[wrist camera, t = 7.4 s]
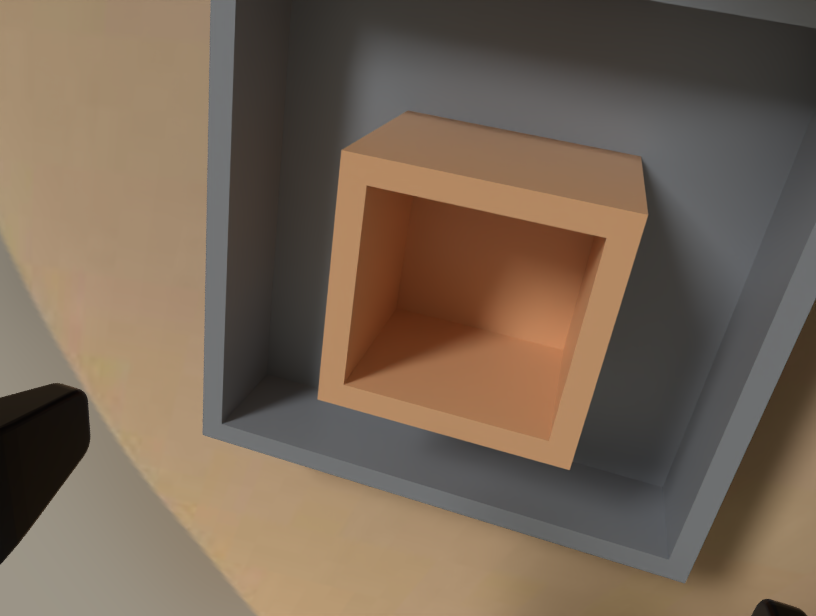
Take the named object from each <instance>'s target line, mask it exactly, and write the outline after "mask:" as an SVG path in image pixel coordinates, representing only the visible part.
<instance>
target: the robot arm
mask: <svg viewBox="0 0 816 616" xmlns="http://www.w3.org/2000/svg"><path fill="white" fill-rule="evenodd" d="M89 443H90V425H89V410H88V399H87V396H86V394H85V393H84V392H83V391H82V390H80V389H77V388H74V387H71V386H67V385H64V384H60V383H53V384H49V385H46V386H42V387H38V388H34V389H31V390H27V391H23V392H20V393H16V394H12V395H8V396H5V397H1V398H0V564H1V563H2V562H3V561H4V560H5V559H6V558H7V556H8V555H9V554H10V553H11V552H12V551H13V550H14V548H15V547H16V546H17V545H18V544H19V542H20V541H21V540H22V539H23V537H24V536H25V535H26V533H27V532H28V531H29V530H30V528H31V527H32V526H33V524H34V523H35V522H36V520H37V519H38V518H39V516H40V515H41V513H42V512H43V511H44V509H45V508H46V507H47V505H48V504H49V503H50V501H51V500H52V498H53V497H54V496H55V495H56V493H57V492H58V490H59V489H60V488H61V486H62V485H63V484H64V482H65V481H66V480H67V478H68V477H69V475H70V474H71V473H72V471H73V470H74V469H75V467H76V466H77V465H78V463H79V462H80V461H81V459H82V458H83V456H84V455H85V453H86V451H87V449H88V447H89ZM752 616H807V615H806V614H805V613H804V612H803V611H802V610H801V609H799V608H797V607H794V606H791V605H788V604H784V603H781V602H778V601H774V600H771V599H764V600H762V601H761V602H760V603H759V604H758V605H757V606H756V608H755V610H754V612H753V614H752Z"/></svg>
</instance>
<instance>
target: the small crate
mask: <svg viewBox="0 0 816 616" xmlns="http://www.w3.org/2000/svg"><path fill="white" fill-rule="evenodd" d="M647 217H648V209H647V201H646V193H645V185H644V176H643V168H642V160H641V156H636V155H631V154H626V153H621V152H616V151H611V150H606V149H601V148H596V147H591V146H586V145H581V144H575V143H570V142H565V141H560V140H555V139H550V138H545V137H540V136H535V135H530V134H525V133H520V132H515V131H510V130H505V129H499V128H494V127H489V126H484V125H479V124H474V123H469V122H464V121H459V120H454V119H449V118H444V117H439V116H434V115H429V114H423V113H418V112H413V111H406V112H404V113H403V114H401V115H399V116H398V117H396V118H394V119H393V120H391V121H389V122H388V123H386V124H384V125H383V126H381V127H379V128H378V129H376V130H374V131H373V132H371V133H369V134H368V135H366V136H364V137H362V138H361V139H359V140H357V141H356V142H354V143H352V144H351V145H349V146H347V147H346V148H344V149H342V150H341V159H340V170H339V180H338V191H337V201H336V211H335V222H334V232H333V243H332V253H331V263H330V274H329V284H328V295H327V305H326V315H325V326H324V336H323V346H322V357H321V367H320V378H319V388H318V398H317V399H318V400H321V401H325V402H328V403H332V404H336V405H339V406H343V407H346V408H350V409H353V410H357V411H360V412H364V413H368V414H371V415H375V416H378V417H382V418H385V419H389V420H393V421H396V422H400V423H403V424H407V425H410V426H414V427H418V428H421V429H425V430H428V431H432V432H435V433H439V434H442V435H446V436H450V437H453V438H457V439H460V440H464V441H467V442H471V443H475V444H478V445H482V446H485V447H489V448H492V449H496V450H499V451H503V452H507V453H510V454H514V455H517V456H521V457H524V458H528V459H532V460H535V461H539V462H542V463H546V464H549V465H553V466H557V467H560V468H564V469H567V470H570V468H571V464H572V461H573V458H574V455H575V451H576V448H577V445H578V442H579V438H580V435H581V432H582V429H583V425H584V422H585V419H586V416H587V412H588V409H589V406H590V403H591V399H592V396H593V393H594V390H595V386H596V383H597V380H598V377H599V373H600V370H601V367H602V364H603V360H604V357H605V354H606V351H607V347H608V344H609V341H610V338H611V334H612V331H613V328H614V325H615V321H616V318H617V315H618V312H619V308H620V305H621V302H622V299H623V295H624V292H625V289H626V286H627V282H628V279H629V276H630V273H631V269H632V266H633V263H634V260H635V256H636V253H637V250H638V247H639V243H640V240H641V237H642V234H643V230H644V227H645V224H646V221H647Z"/></svg>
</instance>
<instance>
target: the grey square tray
mask: <svg viewBox="0 0 816 616" xmlns="http://www.w3.org/2000/svg"><path fill="white" fill-rule="evenodd" d="M406 111H413V112H418V113H423V114H429V115H434V116H439V117H444V118H449V119H454V120H459V121H464V122H469V123H474V124H479V125H484V126H489V127H494V128H499V129H505V130H510V131H515V132H520V133H525V134H530V135H535V136H540V137H545V138H550V139H555V140H560V141H565V142H570V143H575V144H581V145H586V146H591V147H596V148H601V149H606V150H611V151H616V152H621V153H626V154H631V155H636V156H641V160H642V168H643V176H644V185H645V193H646V201H647V209H648V217H647V221H646V224H645V227H644V230H643V234H642V237H641V240H640V243H639V247H638V250H637V253H636V256H635V260H634V263H633V266H632V269H631V273H630V276H629V279H628V282H627V286H626V289H625V292H624V295H623V299H622V302H621V305H620V308H619V312H618V315H617V318H616V321H615V325H614V328H613V331H612V334H611V338H610V341H609V344H608V347H607V351H606V354H605V357H604V360H603V364H602V367H601V370H600V373H599V377H598V380H597V383H596V386H595V390H594V393H593V396H592V399H591V403H590V406H589V409H588V412H587V416H586V419H585V422H584V425H583V429H582V432H581V435H580V438H579V442H578V445H577V448H576V451H575V455H574V458H573V461H572V464H571V468H570V470H567V469H564V468H560V467H557V466H553V465H549V464H546V463H542V462H539V461H535V460H532V459H528V458H524V457H521V456H517V455H514V454H510V453H507V452H503V451H499V450H496V449H492V448H489V447H485V446H482V445H478V444H475V443H471V442H467V441H464V440H460V439H457V438H453V437H450V436H446V435H442V434H439V433H435V432H432V431H428V430H425V429H421V428H418V427H414V426H410V425H407V424H403V423H400V422H396V421H393V420H389V419H385V418H382V417H378V416H375V415H371V414H368V413H364V412H360V411H357V410H353V409H350V408H346V407H343V406H339V405H336V404H332V403H328V402H325V401H321V400H318V399H317V398H318V388H319V378H320V367H321V357H322V346H323V336H324V326H325V315H326V305H327V295H328V284H329V274H330V263H331V253H332V243H333V232H334V222H335V211H336V201H337V191H338V180H339V170H340V159H341V150H342V149H344V148H346V147H347V146H349V145H351V144H352V143H354V142H356V141H357V140H359V139H361V138H362V137H364V136H366V135H368V134H369V133H371V132H373V131H374V130H376V129H378V128H379V127H381V126H383V125H384V124H386V123H388V122H389V121H391V120H393V119H394V118H396V117H398V116H399V115H401V114H403V113H404V112H406ZM815 299H816V0H211V14H210V67H209V121H208V175H207V229H206V282H205V336H204V390H203V435H205V436H208V437H211V438H214V439H218V440H221V441H224V442H227V443H231V444H234V445H237V446H240V447H244V448H247V449H250V450H253V451H257V452H260V453H263V454H266V455H270V456H273V457H276V458H279V459H283V460H286V461H289V462H292V463H296V464H299V465H302V466H305V467H309V468H312V469H315V470H318V471H322V472H325V473H328V474H331V475H335V476H338V477H341V478H344V479H348V480H351V481H354V482H357V483H361V484H364V485H367V486H370V487H374V488H377V489H380V490H383V491H387V492H390V493H393V494H396V495H400V496H403V497H406V498H409V499H413V500H416V501H419V502H422V503H426V504H429V505H432V506H435V507H439V508H442V509H445V510H448V511H452V512H455V513H458V514H461V515H465V516H468V517H471V518H474V519H478V520H481V521H484V522H487V523H491V524H494V525H497V526H500V527H504V528H507V529H510V530H513V531H517V532H520V533H523V534H526V535H530V536H533V537H536V538H539V539H543V540H546V541H549V542H552V543H556V544H559V545H562V546H565V547H568V548H572V549H575V550H578V551H581V552H585V553H588V554H591V555H594V556H598V557H601V558H604V559H607V560H611V561H614V562H617V563H620V564H624V565H627V566H630V567H633V568H637V569H640V570H643V571H646V572H650V573H653V574H656V575H659V576H663V577H666V578H669V579H672V580H676V581H679V582H682V583H685V582H686V580H687V578H688V576H689V574H690V572H691V569H692V567H693V565H694V563H695V561H696V558H697V556H698V554H699V552H700V550H701V547H702V545H703V543H704V541H705V539H706V537H707V534H708V532H709V530H710V528H711V526H712V523H713V521H714V519H715V517H716V515H717V513H718V510H719V508H720V506H721V504H722V502H723V499H724V497H725V495H726V493H727V491H728V489H729V486H730V484H731V482H732V480H733V478H734V475H735V473H736V471H737V469H738V467H739V465H740V462H741V460H742V458H743V456H744V454H745V451H746V449H747V447H748V445H749V443H750V441H751V438H752V436H753V434H754V432H755V430H756V427H757V425H758V423H759V421H760V419H761V417H762V414H763V412H764V410H765V408H766V406H767V403H768V401H769V399H770V397H771V395H772V393H773V390H774V388H775V386H776V384H777V382H778V379H779V377H780V375H781V373H782V371H783V369H784V366H785V364H786V362H787V360H788V358H789V355H790V353H791V351H792V349H793V347H794V345H795V342H796V340H797V338H798V336H799V334H800V331H801V329H802V327H803V325H804V323H805V321H806V318H807V316H808V314H809V312H810V310H811V307H812V305H813V303H814V301H815Z"/></svg>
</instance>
